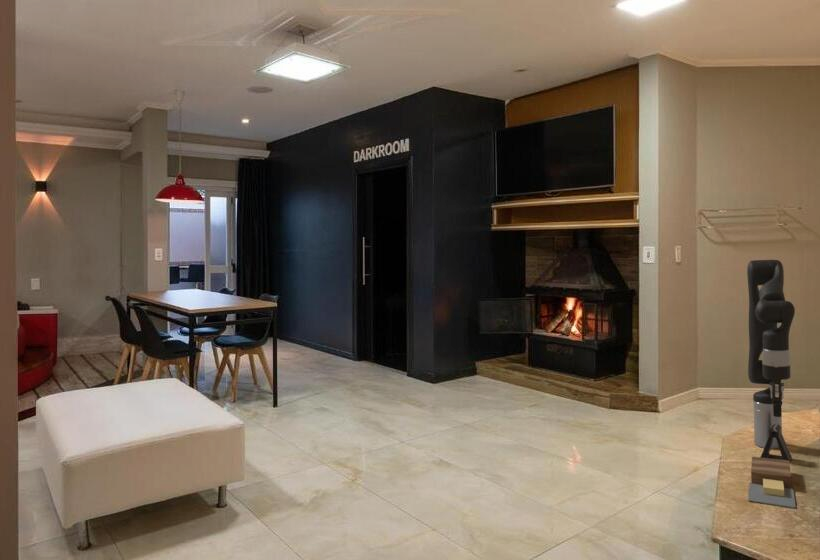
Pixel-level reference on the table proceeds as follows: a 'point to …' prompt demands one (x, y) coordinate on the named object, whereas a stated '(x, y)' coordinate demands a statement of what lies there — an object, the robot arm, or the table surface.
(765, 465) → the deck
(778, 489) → the yellow block
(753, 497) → the mat
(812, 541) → the table surface
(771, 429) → the phone stand
